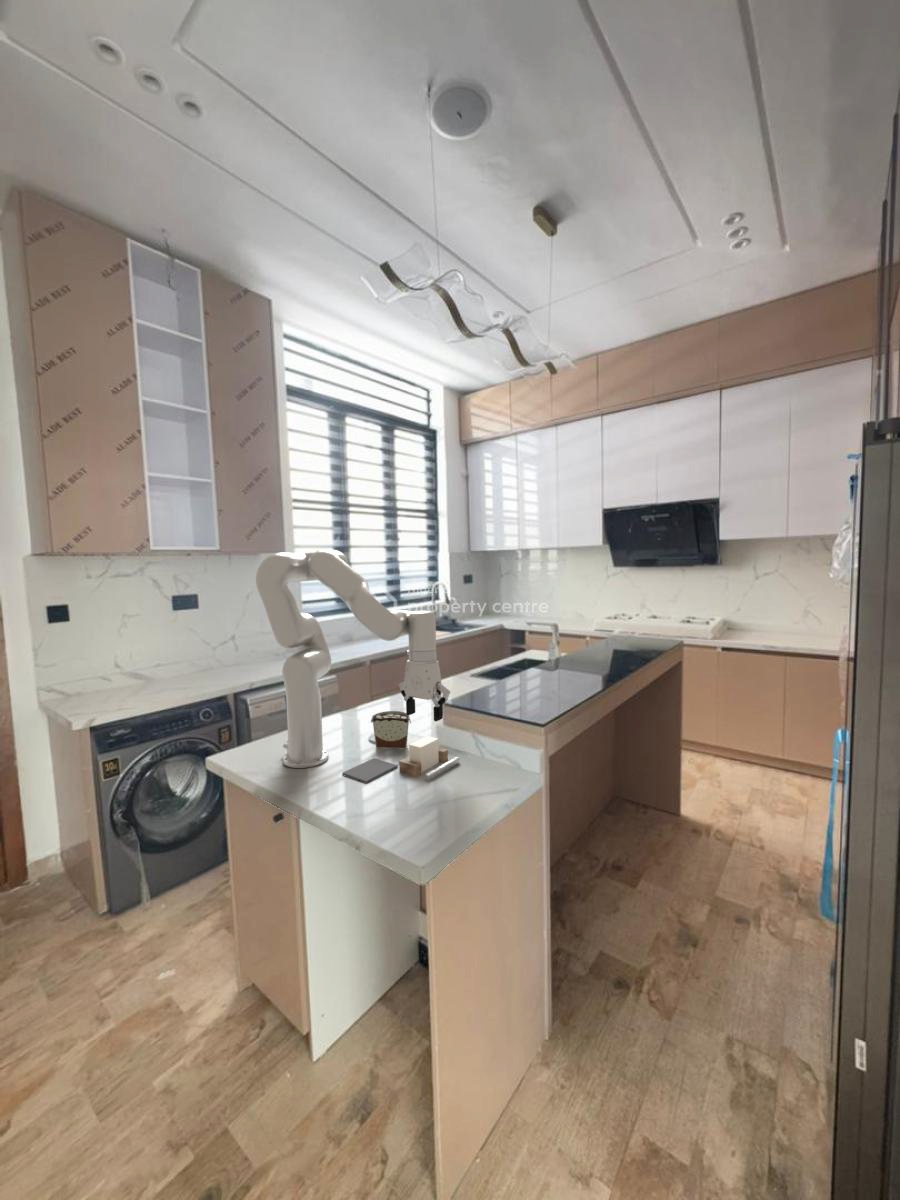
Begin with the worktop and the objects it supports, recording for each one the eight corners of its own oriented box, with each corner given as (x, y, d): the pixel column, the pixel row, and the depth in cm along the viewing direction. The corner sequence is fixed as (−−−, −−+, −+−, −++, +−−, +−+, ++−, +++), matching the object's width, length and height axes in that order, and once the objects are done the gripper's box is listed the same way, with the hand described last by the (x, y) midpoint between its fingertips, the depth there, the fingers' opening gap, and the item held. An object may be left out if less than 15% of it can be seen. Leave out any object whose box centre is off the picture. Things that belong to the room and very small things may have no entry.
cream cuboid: (409, 769, 134) (409, 744, 134) (427, 759, 141) (427, 735, 140) (420, 772, 132) (420, 747, 132) (438, 762, 139) (438, 738, 138)
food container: (414, 741, 155) (413, 710, 154) (411, 749, 149) (410, 716, 148) (376, 740, 156) (375, 710, 156) (371, 748, 150) (370, 716, 149)
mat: (342, 774, 131) (342, 772, 131) (374, 759, 141) (374, 757, 141) (366, 783, 126) (366, 781, 126) (397, 767, 136) (397, 765, 136)
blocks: (399, 771, 133) (399, 761, 132) (431, 755, 144) (431, 745, 144) (428, 781, 127) (428, 769, 127) (459, 762, 138) (459, 752, 138)
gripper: (390, 655, 136) (391, 715, 137) (439, 661, 126) (441, 726, 127) (407, 651, 142) (409, 708, 144) (456, 656, 132) (457, 718, 133)
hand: (424, 717), depth 135 cm, fingers open, 9 cm apart
